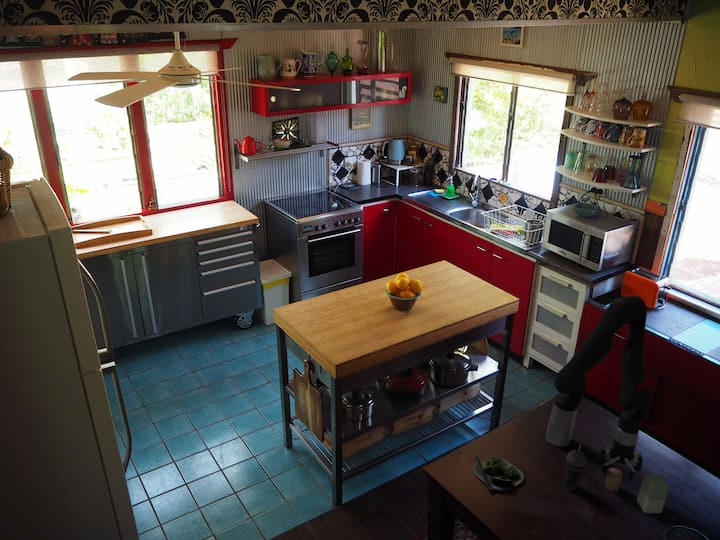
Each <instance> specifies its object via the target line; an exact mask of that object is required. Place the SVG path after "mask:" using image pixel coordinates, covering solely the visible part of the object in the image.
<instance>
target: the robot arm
mask: <svg viewBox="0 0 720 540" xmlns="http://www.w3.org/2000/svg"><path fill="white" fill-rule="evenodd" d="M647 315H648V314H647V305H646V302H645V300H644V299H643V298H642V297H640V296H639V295H630V296H629V295H626V296H619V297H617V298H614V299H613V300H612V301H611V302H610V304H609V305H608V306H607V308H606V310H605V312H604V314H603V315H602V317H601V318H600V320H599V322H598V323H597V324H596V325H595V327H594V328H593V329H592V331H591V332H590V334H589V335H588V336H587V337H586V338H585V340H584V341H583V342H582V343H581V345H580V346H579V348H578V349H577V350H576V352H575V353H574V354H573V356H572V357H571V358H570V360H569V361H568V362H567V363H566V364H565V365H564V366H563V367H562V368H561V369H560V370H559V371H558V372H557V373H556V374H555V376H554V379H553V380H554V381H553V384H554V388H555V390H557V392H558V393H557V394H555V397H554V400H553V404H552V409H551V414H550V415H549V420H548V425H547V428H546V429H547V430H546V438H545V439H546V443H549V444H551V445H552V446H556V447H558V448H560V447H561V448H565V447H567V446H569V445H570V442H571V437H572V435H573V429H574V426H575V420H576V418H577V412H578V408H579V405H580V404H582V401H583V397H584V393H585V392H586V387H587V376H586V373H587V372H589V371H591V370H592V369H594V368H595V367H597V365H599V364H600V363H602V362H603V360H604V359H606V357H607V356H608V355H609V353H610V352H611V351H612V349H613V346H614V336H615V334H617V332H618V331H619V330H620V329H621V328H622V327H623V326H624V325H626V324H628V335H627V340H626V343H625V345H624V349H623V351H622V356H621V368H622V369H621V370H622V371H621V372H622V379H621V384H620V387H619V388H620V389H619V394H618V399H619V404H620V406H621V407H622V408H623V409H624V410H623V411H622V412H621V413H620V415H619V419H618V423H617V427H616V429H615V432H614V436H613V440H612V445H611V448H610V449H609V448H606V447H605V446H604V445H603V446H601V449H600V452H599V455H598V457H597V458H598V463H599V464H600V465H601V464H602V465H601V473H603V475H606V474H607V470H608V466H609V465H612V464H614V463H616V464H622V465H627V467H628V473H627V479H628V480H631V479H633V478H634V473H635V472H641V471H642V465H643V460H644V459H643V455H642V454H641V453H638V454H635V450H636V447H637V443H638V439H639V432H640V429H641V424H642V422H643V420H644V419H645V417H646V416H647V414H648V412H649V410H650V408H651V406H652V401H653V400H652V399H653V398H652V396H651V393H650V392H649V391H648V390H647V389H645V388H639V387H638V385H640V384H641V383H643V382H645V379H646V375H645V362H644V360H645V359H644V358H645V357H644V346H645V345H644V344H645V336H646V335H645V334H646V325H647V323H646V322H647ZM637 387H638V388H637ZM606 455H607V457H606V458H605V456H606ZM632 460H635V461H636V465H634V463H633V462H632Z"/></svg>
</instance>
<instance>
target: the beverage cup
mask: <svg viewBox="0 0 720 540" xmlns="http://www.w3.org/2000/svg"><path fill="white" fill-rule="evenodd" d="M581 447H582V443H580V444H579V446H578V449H574V450H570V452H568V454H567V455H566V456H565V469H564V477H563V487H564V488H565V489H566V490H568V491H571V492H572V491H576V490H577V488H578V486H579V483H580V480H581V478H582V475H583V472H584V470H586V469H585V468H586V467H587V456H586V455H585V454H584V453H583V452H582V451H581Z"/></svg>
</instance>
